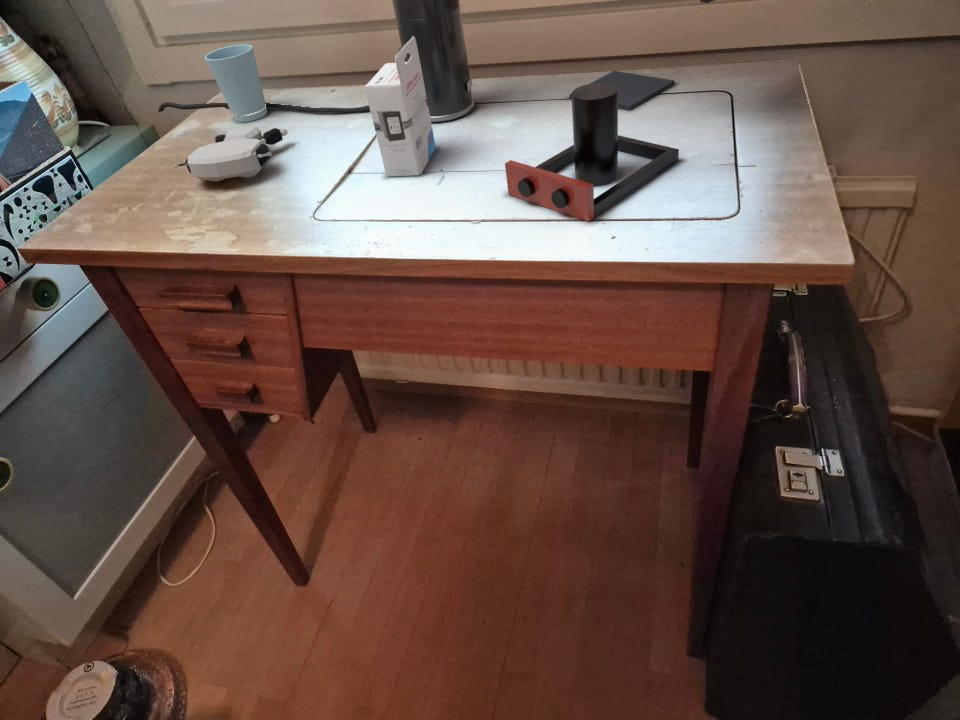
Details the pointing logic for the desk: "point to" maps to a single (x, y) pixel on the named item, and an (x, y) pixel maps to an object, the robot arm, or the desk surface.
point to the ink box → (401, 114)
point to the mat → (634, 87)
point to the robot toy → (233, 154)
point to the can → (595, 133)
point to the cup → (238, 80)
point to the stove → (577, 194)
